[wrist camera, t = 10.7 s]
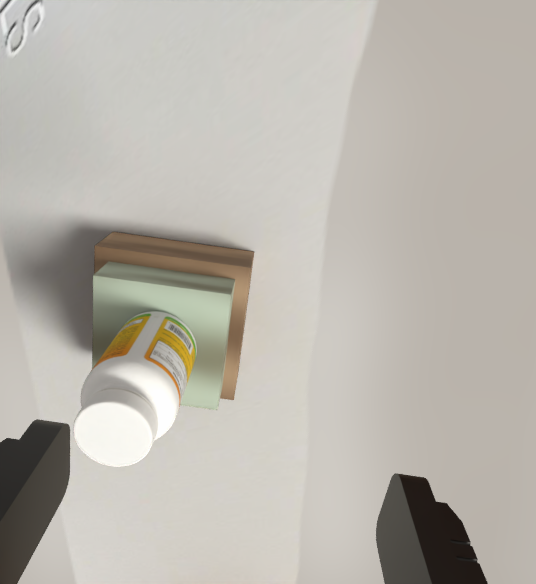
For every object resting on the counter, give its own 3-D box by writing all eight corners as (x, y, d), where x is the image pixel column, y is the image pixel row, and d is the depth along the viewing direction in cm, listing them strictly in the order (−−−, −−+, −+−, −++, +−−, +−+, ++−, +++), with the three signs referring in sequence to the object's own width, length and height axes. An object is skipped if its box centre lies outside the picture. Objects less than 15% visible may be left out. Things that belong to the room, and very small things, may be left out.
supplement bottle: (117, 372, 34) (56, 470, 25) (121, 302, 32) (58, 381, 23) (193, 385, 34) (161, 486, 25) (202, 316, 32) (171, 399, 23)
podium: (113, 231, 38) (77, 258, 31) (254, 251, 38) (248, 282, 31) (110, 356, 42) (78, 403, 35) (237, 373, 42) (229, 423, 35)
